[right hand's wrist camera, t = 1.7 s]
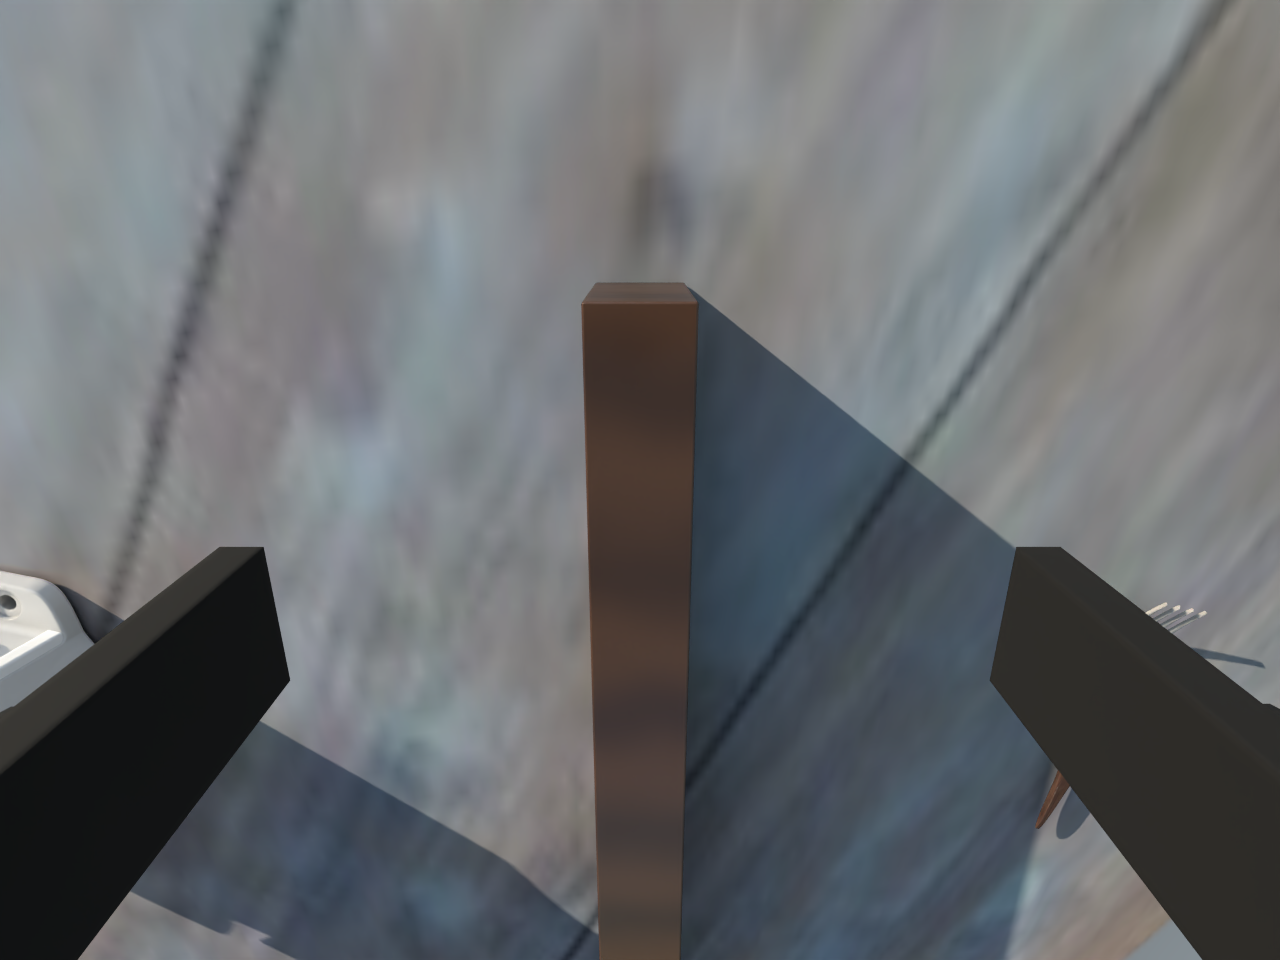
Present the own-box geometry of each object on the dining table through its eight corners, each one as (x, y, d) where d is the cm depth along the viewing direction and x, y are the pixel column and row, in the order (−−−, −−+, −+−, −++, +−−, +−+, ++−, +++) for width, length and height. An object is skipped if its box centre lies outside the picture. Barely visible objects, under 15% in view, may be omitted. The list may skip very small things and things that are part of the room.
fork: (1011, 817, 42) (1029, 845, 40) (1136, 583, 37) (1163, 602, 35) (1052, 825, 42) (1071, 853, 40) (1182, 593, 37) (1211, 613, 35)
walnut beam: (595, 282, 32) (581, 301, 24) (684, 282, 32) (698, 301, 24) (610, 995, 47) (604, 1141, 40) (669, 995, 47) (675, 1141, 40)
